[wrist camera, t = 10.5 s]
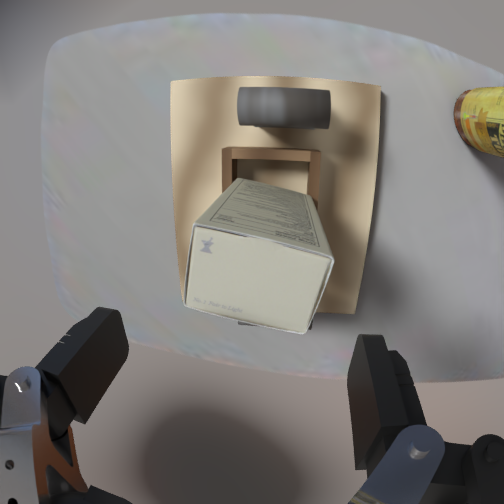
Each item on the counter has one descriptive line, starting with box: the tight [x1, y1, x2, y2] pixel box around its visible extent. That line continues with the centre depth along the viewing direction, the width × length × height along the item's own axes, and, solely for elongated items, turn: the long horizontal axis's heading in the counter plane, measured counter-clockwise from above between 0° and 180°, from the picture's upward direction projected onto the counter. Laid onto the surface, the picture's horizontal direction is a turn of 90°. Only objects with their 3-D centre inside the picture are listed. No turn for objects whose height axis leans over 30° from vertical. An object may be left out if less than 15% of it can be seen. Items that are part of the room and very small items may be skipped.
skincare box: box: [183, 178, 335, 334], centre depth 19 cm, size 6×4×12 cm
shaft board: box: [171, 76, 381, 330], centre depth 24 cm, size 18×22×7 cm
